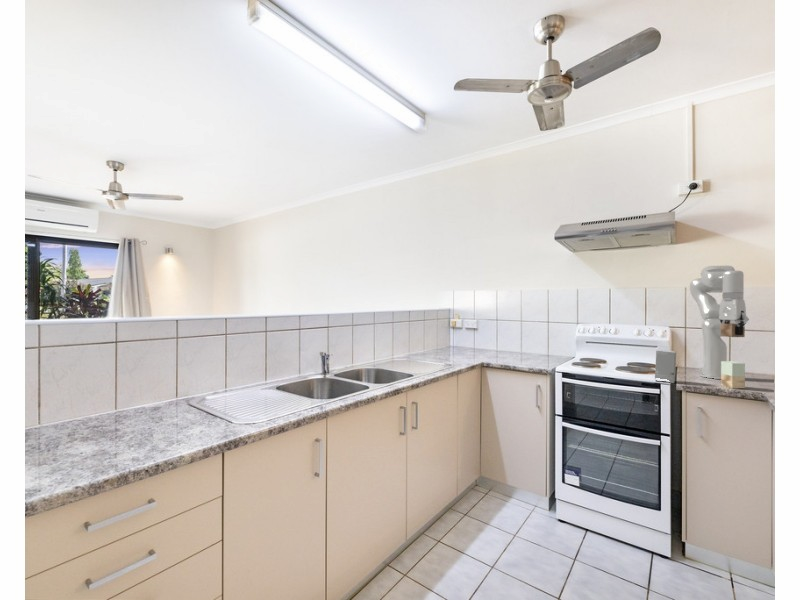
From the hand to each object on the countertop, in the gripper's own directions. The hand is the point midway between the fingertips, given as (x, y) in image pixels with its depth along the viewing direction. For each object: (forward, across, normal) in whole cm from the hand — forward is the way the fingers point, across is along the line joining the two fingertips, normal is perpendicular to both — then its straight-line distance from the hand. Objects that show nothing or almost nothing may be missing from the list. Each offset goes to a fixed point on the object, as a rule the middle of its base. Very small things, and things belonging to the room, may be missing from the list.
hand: (732, 334), depth 179 cm
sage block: (+19, 0, 0) cm, 19 cm away
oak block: (+25, 0, 0) cm, 25 cm away
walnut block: (+1, 0, 0) cm, 1 cm away
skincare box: (+26, -13, -23) cm, 37 cm away
